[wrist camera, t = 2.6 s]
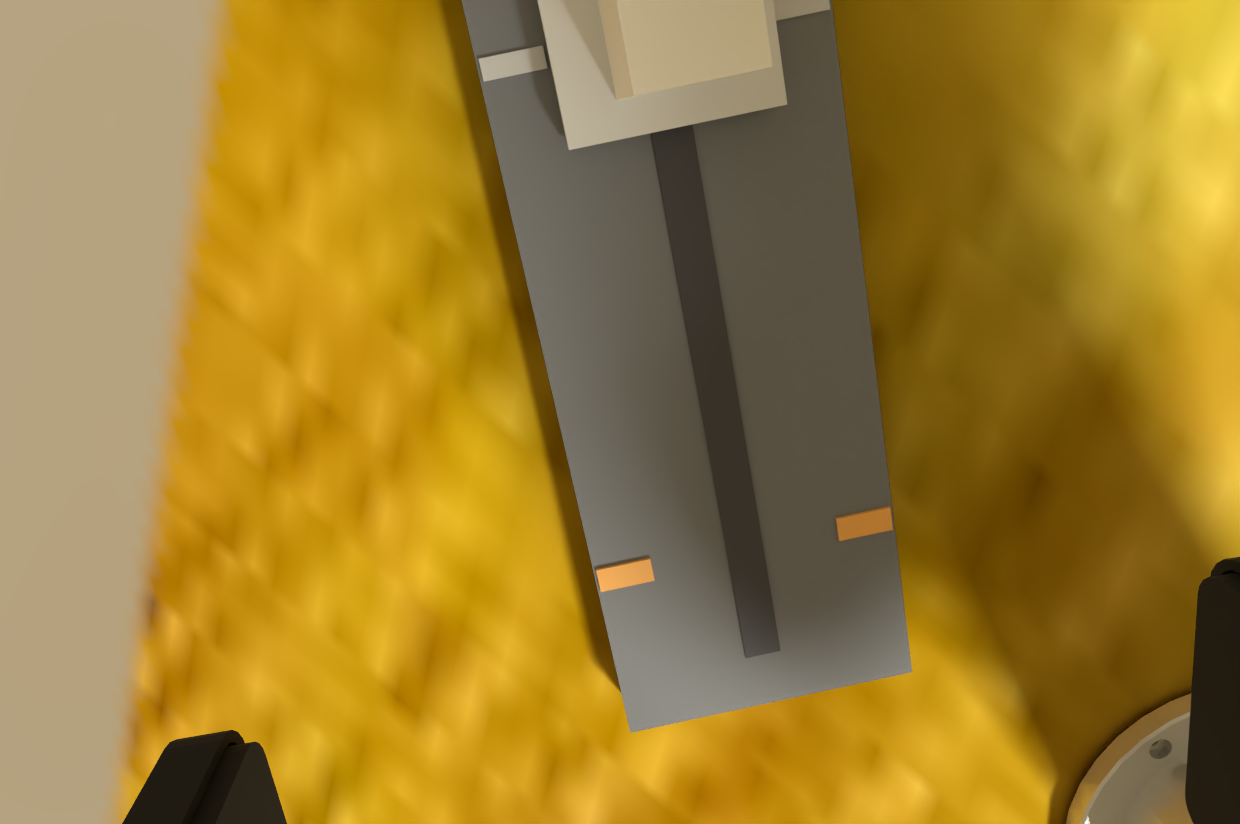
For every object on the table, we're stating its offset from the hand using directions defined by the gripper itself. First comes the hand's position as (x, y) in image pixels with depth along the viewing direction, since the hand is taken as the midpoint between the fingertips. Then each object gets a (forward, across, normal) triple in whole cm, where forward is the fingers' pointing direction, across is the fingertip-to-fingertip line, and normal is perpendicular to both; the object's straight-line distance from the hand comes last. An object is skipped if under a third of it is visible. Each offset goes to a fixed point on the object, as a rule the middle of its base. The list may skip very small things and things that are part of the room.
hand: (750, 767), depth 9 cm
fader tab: (+20, -3, -8) cm, 22 cm away
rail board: (+22, -3, +1) cm, 22 cm away
